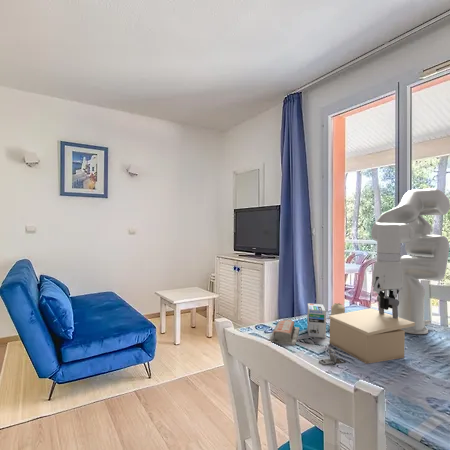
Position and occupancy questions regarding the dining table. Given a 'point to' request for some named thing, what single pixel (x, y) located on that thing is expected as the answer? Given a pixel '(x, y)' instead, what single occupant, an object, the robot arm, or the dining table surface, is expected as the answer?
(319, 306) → the light bulb box
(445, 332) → the dining table surface
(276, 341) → the packaged product
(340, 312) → the candle
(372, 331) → the carton lid
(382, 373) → the dining table surface
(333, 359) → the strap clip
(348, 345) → the kraft carton
